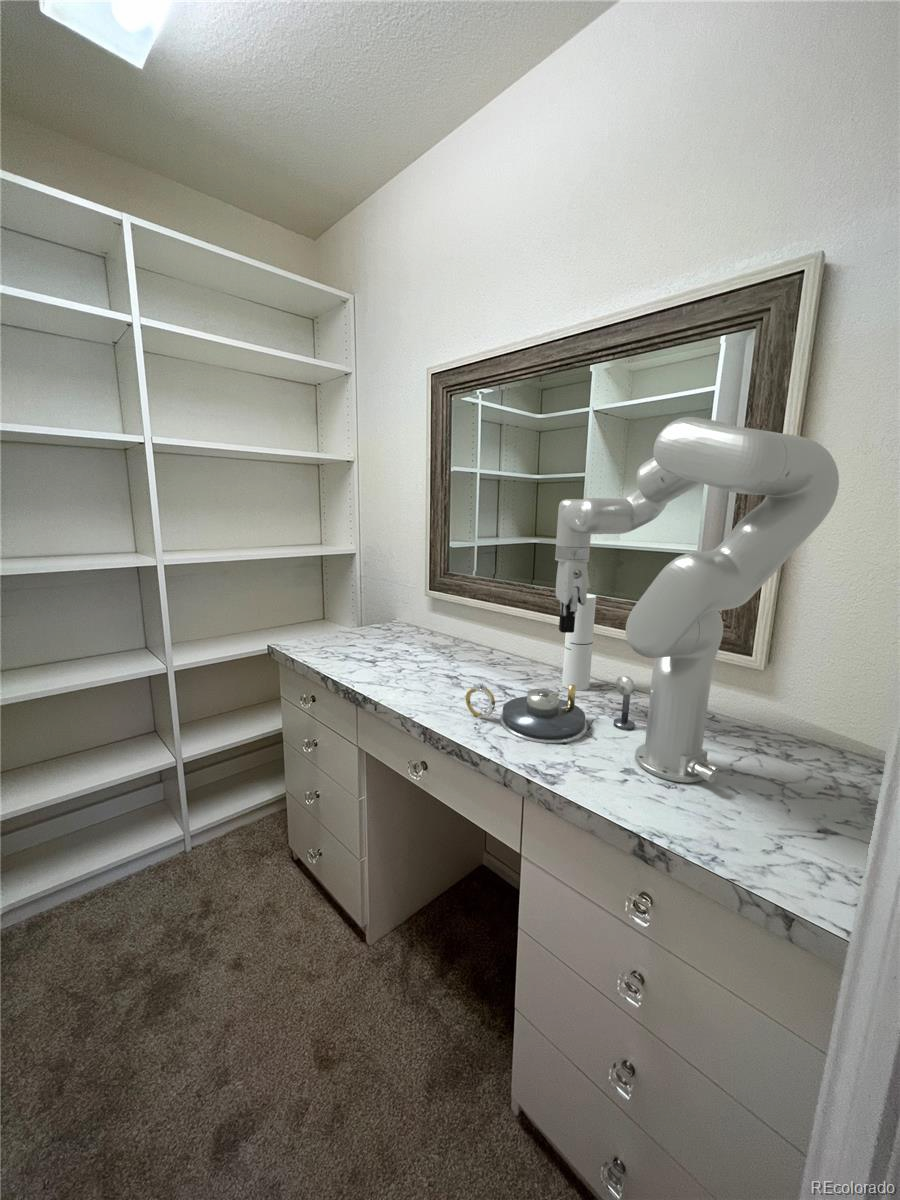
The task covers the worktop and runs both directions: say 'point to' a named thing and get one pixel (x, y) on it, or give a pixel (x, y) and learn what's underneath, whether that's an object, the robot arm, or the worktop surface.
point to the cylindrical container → (580, 647)
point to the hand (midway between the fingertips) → (566, 631)
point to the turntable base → (550, 741)
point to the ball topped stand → (624, 703)
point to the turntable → (545, 719)
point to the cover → (543, 703)
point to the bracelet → (484, 689)
